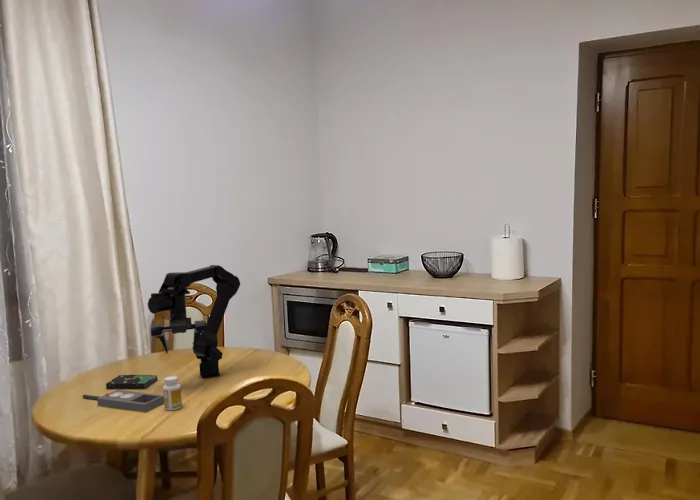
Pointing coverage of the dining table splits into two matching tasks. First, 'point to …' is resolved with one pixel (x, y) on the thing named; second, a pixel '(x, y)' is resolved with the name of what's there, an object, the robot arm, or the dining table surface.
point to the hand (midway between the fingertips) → (180, 351)
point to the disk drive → (132, 382)
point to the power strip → (128, 400)
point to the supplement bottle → (172, 393)
